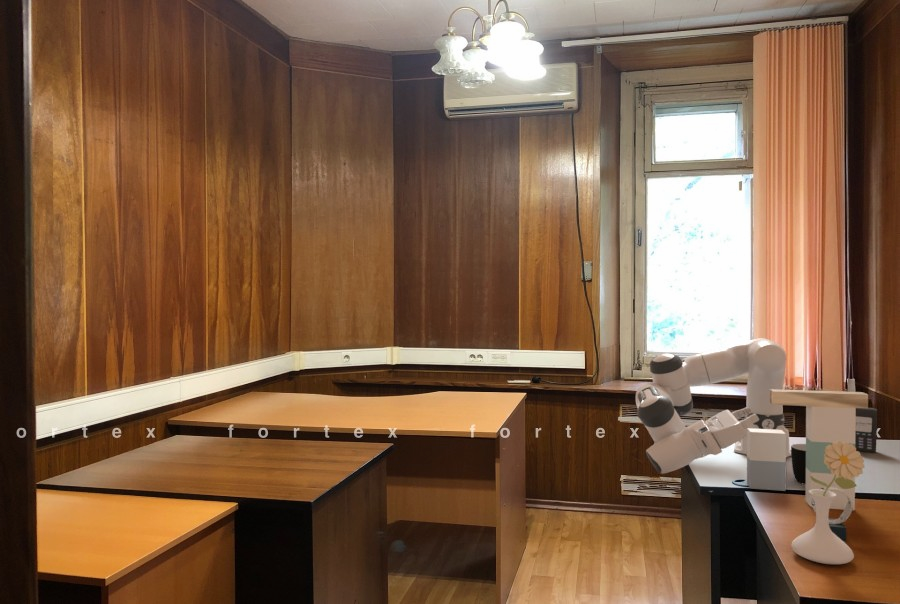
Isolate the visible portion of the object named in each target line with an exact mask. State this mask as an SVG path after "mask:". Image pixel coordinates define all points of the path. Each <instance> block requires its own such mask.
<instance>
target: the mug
mask: <svg viewBox="0 0 900 604" xmlns="http://www.w3.org/2000/svg"><path fill="white" fill-rule="evenodd" d="M790 450H791V456H790V458H791V468H792V473H793V477H794V480H795V481H796V482H797V483H800V484H802V483H803V485H806V443H794V444H792V445H791V447H790Z"/></svg>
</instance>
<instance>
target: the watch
mask: <svg viewBox="0 0 900 604" xmlns="http://www.w3.org/2000/svg"><path fill="white" fill-rule="evenodd" d="M826 488H827V487H825V488H820V489H821V490H826ZM827 491H831V492H832V491H839V492H841V493H843V494H845V495H846V496H847V498H848V502H847V505H846V508H845V510H843V512H842V513H841V514H840V515H839V517H838V518H830V517H828V523H829V527H830V530H831V531H832V532H833V533H834V534H835V535H836V536H837V537H839V538H840V539H841V540H842V541H843V542H844V543H846V542H847V526H845V524H844V523H845V522H846V521H847V520H848V519H849V517H850V516H851V514H852V512H853V511H854V510H853V504H852V500H851V498H850V497H849V496H848V495H847V494H846V493H845V492H844V491H843V490H841V489H839V488H836V487H829V489H828V490H827ZM812 506H813V507H812V509H813V511H814V513H815V514H816V507H815V502H814V500H813V499H812Z"/></svg>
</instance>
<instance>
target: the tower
mask: <svg viewBox="0 0 900 604" xmlns="http://www.w3.org/2000/svg"><path fill="white" fill-rule="evenodd" d="M805 407H806V408H805V444H806V484H805V503H807V504H808V505H809V507H810V508H813V506H812V499H813V497H812V496H811V494H810V493H809V490H812V489H820V488H825V487H826V486H823V485H821V484H819V483H816V482H814V481H813V480H812V479H811V476H812V477H813V478H815V479H817V480H819V481H821V482H824V483H826V484H827V485H829V484H830V483H831V481H832V480H833V478H834V476H835V474H832V473H831V469H828V467H827V465H826V464H825V463H824V461H825V459H824V458H825V457H824V454H826V452H825V449H826V446H828V445H831V446H832V443H833V442H837V441H838V440H839V441H841V442H843V443H844V442H847V443H848V444H849V445H850V444H851V445H853V446H854V447H855V425H856V408H846V407H820V406H805ZM853 476H854V475H853ZM838 477H839V476H837V475H836V478H838ZM836 478H835V479H836ZM851 480H852V481H853V482H854V483H855V484H856V476H854V478H853V479H851ZM830 487H836V488H839V489H841V490H843V491H844V492H845V493H846V494H847V495H848V496H849V497H850V498H851V500H852V504H853V510H852V511H856V504H855V503H856V501H855V499H856V498H855V497H856V487H853V488H849V489H843V488H841V487H840V486H839V485H837V483H836V482H835V480H834V482H833V483H832V484H831V486H830ZM832 492H833V493H835V494H836V497H835V498H834V499H833V500H832V502H831V504H830V508H829V510H843V511H844V510H845V508H846V505H847V502H848V498H847V496H846V495H845V494H843V493H841V492H839V491H832Z"/></svg>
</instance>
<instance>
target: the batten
mask: <svg viewBox="0 0 900 604" xmlns="http://www.w3.org/2000/svg"><path fill="white" fill-rule="evenodd" d="M770 403H771V404H772V405H783V406H797V407H799V406H800V407H806V406H820V407H846V408H869V394H867V392H866V393H865V392H861V391H835V390H833V391H832V390H830V391H829V390H804V389H803V390H801V389H783V390H775V389H770Z"/></svg>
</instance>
